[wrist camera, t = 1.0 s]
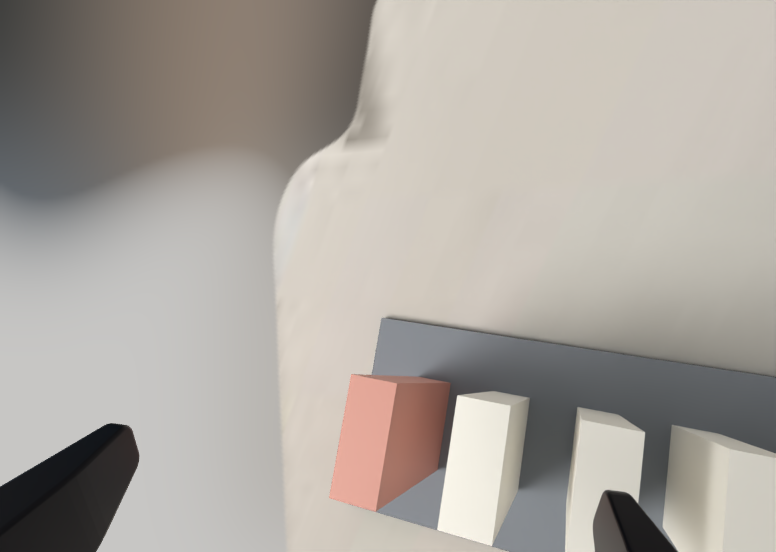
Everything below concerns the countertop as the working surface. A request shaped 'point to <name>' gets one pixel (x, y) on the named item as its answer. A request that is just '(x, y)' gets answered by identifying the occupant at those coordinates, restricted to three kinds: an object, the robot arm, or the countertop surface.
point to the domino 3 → (599, 470)
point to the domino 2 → (483, 464)
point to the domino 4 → (719, 494)
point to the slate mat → (568, 415)
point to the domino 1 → (388, 438)
